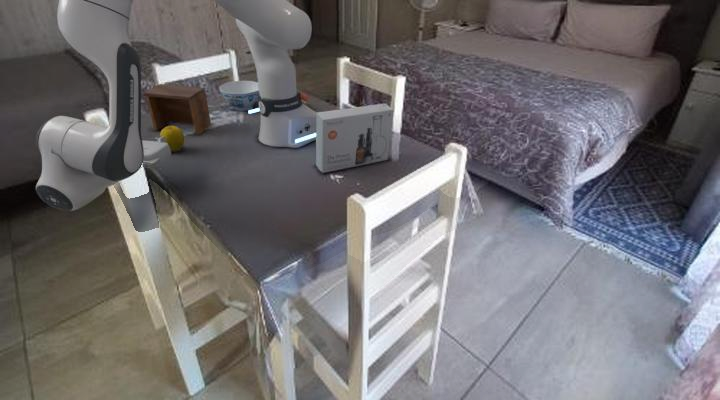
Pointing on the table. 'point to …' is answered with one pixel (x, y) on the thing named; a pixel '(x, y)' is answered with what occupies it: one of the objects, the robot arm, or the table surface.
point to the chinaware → (240, 94)
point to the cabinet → (178, 106)
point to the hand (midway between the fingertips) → (145, 137)
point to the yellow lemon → (173, 137)
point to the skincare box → (353, 136)
